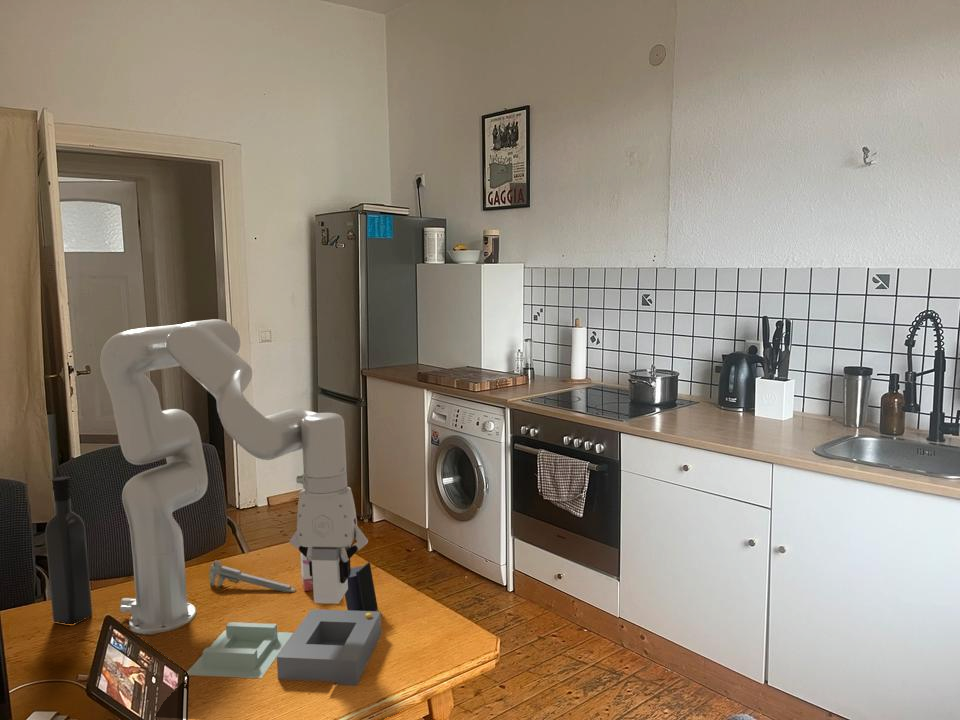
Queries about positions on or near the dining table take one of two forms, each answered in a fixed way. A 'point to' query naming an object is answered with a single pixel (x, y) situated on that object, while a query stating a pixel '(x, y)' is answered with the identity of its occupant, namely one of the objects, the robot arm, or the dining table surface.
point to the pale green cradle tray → (241, 651)
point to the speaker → (361, 590)
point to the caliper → (243, 578)
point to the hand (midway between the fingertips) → (330, 578)
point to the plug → (327, 576)
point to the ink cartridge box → (306, 574)
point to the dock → (330, 646)
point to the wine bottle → (67, 559)
